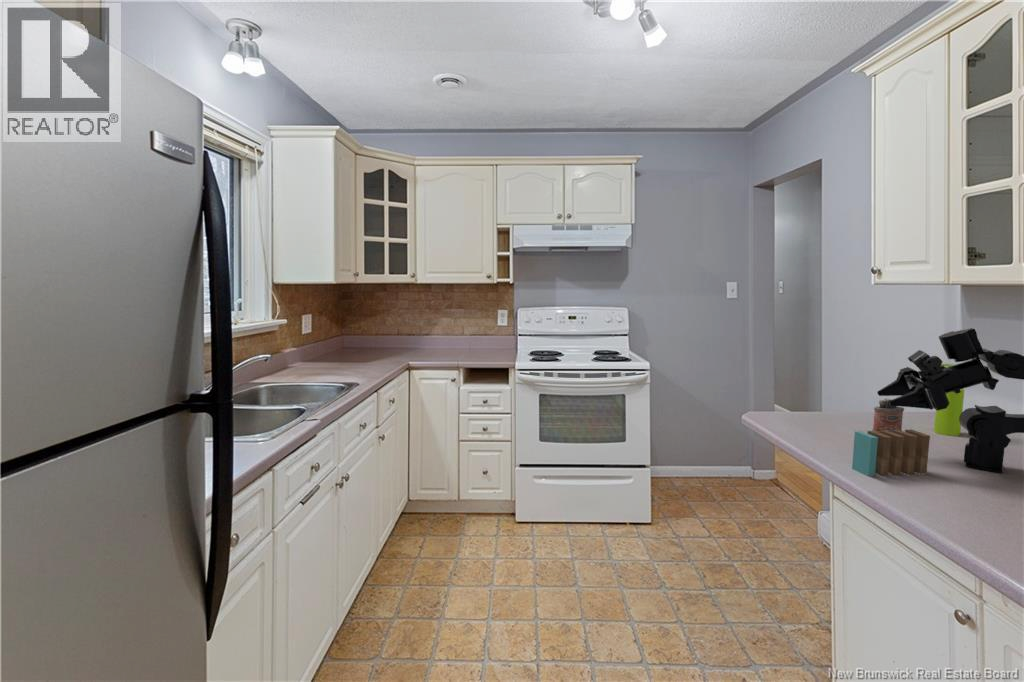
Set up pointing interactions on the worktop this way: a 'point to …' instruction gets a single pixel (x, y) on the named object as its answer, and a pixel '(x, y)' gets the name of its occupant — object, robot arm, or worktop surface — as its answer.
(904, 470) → the domino
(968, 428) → the robot arm
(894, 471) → the domino
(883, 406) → the red tin can
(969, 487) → the worktop surface
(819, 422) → the worktop surface
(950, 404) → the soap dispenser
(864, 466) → the domino
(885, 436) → the domino
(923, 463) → the domino
